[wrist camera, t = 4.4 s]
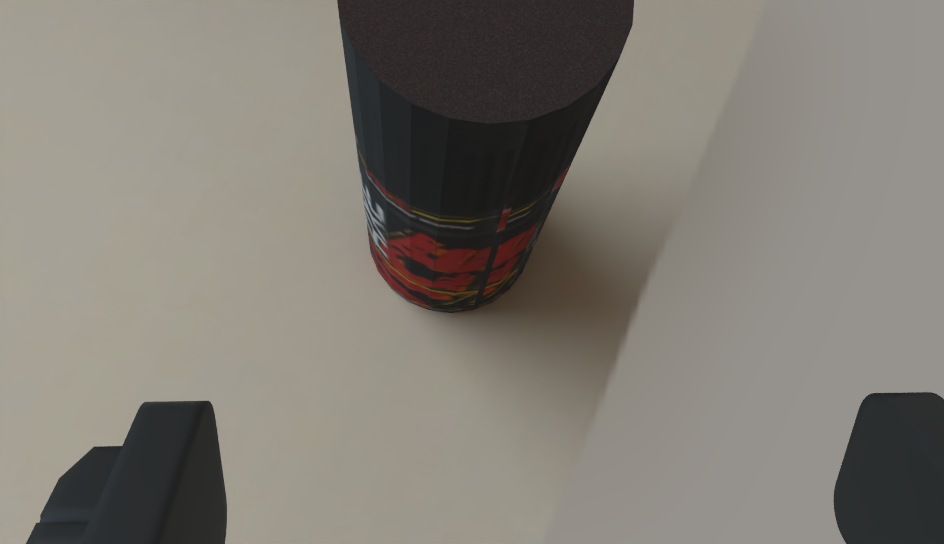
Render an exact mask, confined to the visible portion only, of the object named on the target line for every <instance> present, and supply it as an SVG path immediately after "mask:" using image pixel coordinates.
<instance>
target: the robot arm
mask: <svg viewBox="0 0 944 544" xmlns="http://www.w3.org/2000/svg"><path fill="white" fill-rule="evenodd" d="M834 510H835V516H836V520H837V524H838V528H839V530H840V533H841V535H842V537H843V538H844V540H845V542H846V544H944V399H943V398H942V397H940V396H938V395H937V394H935V393H927V392H923V393H873V394H870V395H868V396H867V397H866V398H865V399H864V400H863V402H862V403H861V406H860V408H859V411H858V414H857V417H856V420H855V424H854V427H853V430H852V433H851V437H850V440H849V443H848V446H847V450H846V453H845V456H844V459H843V462H842V465H841V469H840V472H839V475H838V479H837V482H836V485H835V490H834ZM40 516H41V520H40V523H36V525H35V527H34V529H33V531H32V533H31V535H30V537H29V539H28V541H27V543H26V544H225V537H226V525H227V503H226V493H225V486H224V478H223V471H222V464H221V457H220V449H219V442H218V435H217V427H216V420H215V414H214V410H213V406H212V404H211V403H210V402H209V401H174V402H144V403H143V404H142V405H141V406H140V408H139V410H138V412H137V414H136V416H135V419H134V421H133V423H132V426H131V428H130V430H129V432H128V435H127V437H126V439H125V442H124V444H123V446H107V447H93V448H92V449H91V450H90V451H89V452H88V453H87V454H86V455H85V456H83V457H82V458H81V459H80V460H79V461H78V462H77V463H76V464H75V465H74V466H72V467H71V468H70V469H69V470H68V471H67V472H66V473H65V474H64V475H63V476H61V477H60V478H59V480H58V482H57V484H56V486H55V488H54V490H53V492H52V494H51V496H50V498H49V500H48V502H47V504H46V505H45V507H44V509H43V511H42V513H41V515H40Z"/></svg>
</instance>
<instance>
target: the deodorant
mask: <svg viewBox="0 0 944 544" xmlns="http://www.w3.org/2000/svg"><path fill="white" fill-rule="evenodd" d="M337 1H338V9H339V18H340V25H341V33H342V40H343V48H344V55H345V63H346V70H347V78H348V85H349V93H350V100H351V108H352V115H353V123H354V130H355V138H356V145H357V153H358V160H359V168H360V175H361V183H362V190H363V198H364V205H365V213H366V220H367V228H368V235H369V243H370V250H371V255H372V257H373V259H374V262H375V264H376V267H377V269H378V271H379V273H380V274H381V276H382V277H383V278H384V279H385V281H386V282H387V283H388V284H389V286H390V287H391V288H392V289H393V290H394V291H396V292H397V293H398V294H400V295H401V296H402V297H404V298H405V299H406V300H408V301H409V302H411V303H414V304H416V305H419V306H421V307H424V308H426V309H429V310H435V311H443V312H459V311H467V310H473V309H476V308H478V307H481V306H483V305H486V304H488V303H491V302H493V301H494V300H495V299H497V298H498V297H499V296H501V295H502V294H503V293H505V292H506V291H507V290H509V289H510V287H511V286H512V285H513V283H514V282H515V281H516V279H517V278H518V277H519V275H520V274H521V273H522V271H523V268H524V266H525V264H526V262H527V260H528V258H529V255H530V253H531V251H532V249H533V247H534V244H535V242H536V240H537V238H538V236H539V233H540V231H541V229H542V227H543V225H544V222H545V220H546V218H547V216H548V214H549V211H550V209H551V207H552V205H553V203H554V200H555V198H556V196H557V194H558V192H559V189H560V187H561V185H562V183H563V181H564V178H565V176H566V174H567V172H568V170H569V167H570V165H571V163H572V161H573V159H574V156H575V154H576V152H577V150H578V148H579V145H580V143H581V141H582V139H583V137H584V134H585V132H586V130H587V128H588V126H589V124H590V121H591V119H592V117H593V115H594V113H595V110H596V108H597V106H598V104H599V102H600V99H601V97H602V95H603V93H604V91H605V88H606V86H607V84H608V82H609V80H610V77H611V75H612V73H613V71H614V69H615V66H616V64H617V62H618V60H619V58H620V55H621V53H622V50H623V48H624V45H625V42H626V40H627V37H628V35H629V32H630V30H631V27H632V23H633V8H634V0H337Z"/></svg>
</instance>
